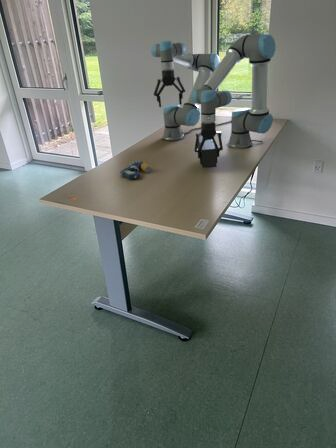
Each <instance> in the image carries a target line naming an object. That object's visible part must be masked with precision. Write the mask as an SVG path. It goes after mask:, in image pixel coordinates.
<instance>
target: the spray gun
mask: <svg viewBox="0 0 336 448" xmlns="http://www.w3.org/2000/svg"><path fill="white" fill-rule="evenodd" d="M140 169H141V170H142V172H143V171H144V172H145V173H147V174H149V173H150V172H152V166H150V165H149V164H147V162H143V161H142V160H133V161H132V162H131V163H130V164H129V165H127V166H126V167H125V168H123V169H122V170H121V171H120V172H119V177H122V178H127V179H129V180H134V179H138V178H139V177H141V172H140Z"/></svg>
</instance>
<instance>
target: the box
mask: <svg viewBox="0 0 336 448" xmlns="http://www.w3.org/2000/svg"><path fill="white" fill-rule="evenodd" d="M202 138H203V137H202V136H201V135H200V137H199V141H198V148H197V149H199V146H200V144H201V141H202ZM201 153H202V164H200V166H201V168H202V169H209V168H217V167H218V166H217V165H218V158H217V148H216V147H215V145H214V142H213V140H205V142H204V145H203V147H202V149H201Z"/></svg>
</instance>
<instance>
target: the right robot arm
mask: <svg viewBox="0 0 336 448" xmlns="http://www.w3.org/2000/svg"><path fill="white" fill-rule="evenodd" d="M276 48H277V47H276V41H275V38H274V36H272V34H267V33H266V34H265V33H259V34H245V35H242V36H241V37H239V38H238V39H236V40H235V41H234V42H232V44H231V45H230V46H229V47H228V49H226V51H225V55H224V57H223V58H222V59H221V60H220V63H219V65H218V66H217V67H216V69H215V70H214V71H213V73H212V74H211V75H210V77H209V78H208V79H207V81H206V82H205V83H204V85H203V86H202V87H201V89H196V90H194V91H193V94H192V100H193V102H194V103H197V104H199V105H200V122H201V124H200V127H201V129H200V132H196V133H195V137H196V138H195V142H194V143H195V144H194V148H193V149H194V150H193V151H194V152H195V153H197V158H198V159H199V164H200V165H201V164H202V153H201V149H202V147H203V145H204V142H205V140H213V142H214V145H215V147H216V148H217V159H218V158H219V157H220V152H221V151H223V150H224V147H223V141H222V131H217V130H216V129H217V128H216V124H217V123H216V114H217V113H216V111H217V109H218V108H221V107H225V106H228V105H230V104H231V102H232V93H231V92H230V91H229V90H226V89H225V90H220V91H219V90H218V89H219V87H220V86H221V84H222V83H223V82H224V81H225V79H226V78H227V76H228V75H229V74H230V72H231V71H232V70H233V69H234V68H235V66H236V65H237V64H239V63H241V61H242V60H244V59H248V63H249V64H250V66H251V108H250V107H242V108H238V109H237V108H236V109H234V110H232V112H231V120H230V121H231V122H230V123H231V127H230V128H231V131H230V136H229V139H228V141H227V142H228V143H227V146H228V147H229V148H234V149H245V148H249V147H251V146H252V145H253V144H252V143H253V142H257V143H263V140H256V139H252V137H251V133H250V132H252V133H256V134H266V133H267V132H269V131H270V129H271V127H272V125H273V122H274V117H273V115H272V114H271V113H270V108H268V106H267V104H268V103H267V102H268V71H269V70H268V68H269V67H268V65H269V63H270V62H271V59H272V58H273V57H274V55H275V53H276ZM200 135H201V136H202V137H203V138H202V141H201V144H200V146H199V149H198V141H199V137H200ZM215 136H217V138H218V139H217V140H218V144H219V145H218V144H217V142H216V139H215Z"/></svg>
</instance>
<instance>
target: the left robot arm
mask: <svg viewBox="0 0 336 448" xmlns="http://www.w3.org/2000/svg"><path fill="white" fill-rule="evenodd" d="M150 53H151V55H152V57H154V58H160V64H161V65H160V66H161V78H157V82H156V86H155V89H154V91H153V96H155V97H156V101H157V103H158V107H159V108H162V102H161V96H160V95H161V94H162V92H163V91H164V89H165V88H166V87H169V86H170V87H172V86H174V88H175V89H176V90H177V91H178V104H171V105H166V106H165V107H164V108H163V123H164V130H163V135H162V139H163V140H164V141H167V142H176V141H180V140H182V139H184V137H185V136H184V134H186V135H187V134H190V132H192V131H195V130H201V126H200V127H195V126H196V125H197V124H198V123H199V122H200V120H201V110H200V107H199V106H200V104H197V103H194V102H193V100H192V94H193V91H194V90H196V89H201V87H202V86H203V85H204V83H205V82H206V81H207V79H208V78H209V77H210V75H211V74H212V73H213V71H214V70H215V69H216V67H217V66H218V65H219V63H220V62H221V60H220V57H219V55H218V53H212V52H211V53H190V52H187V53H186V45H185V44H184V43H183V42H173V41H172V40H162V41H160V42H159V43H154V44H152V46H151V47H150ZM174 63H176V64H178V65H181V66H183V68H186V69H189V70H191V71H193V72H198V74H197V76H196V78H195V81H194V84H193V86H192V89H191V91H190V94H189V96H188V99H187V101H186V102H184V103H183V102H182V99H183V98H184V96H183V94H184V93H185V92H186V89H185V87H184V86H183V84H182V82H181V78H180V76H176V77H175V70H174V68H175V66H174V65H175V64H174ZM175 81H176V82H177V84H178V85H179V86H178V85H177V84H176V83H175ZM161 83H162V84H161ZM160 86H161V87H160ZM182 103H183V104H182ZM180 105H182V107H181V106H180ZM229 123H231V120H228V121H225V122H221V123H216V126H222V125H226V124H229ZM182 126H185V127H195V128H191V129H190V130H189V131H187V132H185V131H184V132H183V129H182Z"/></svg>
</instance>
